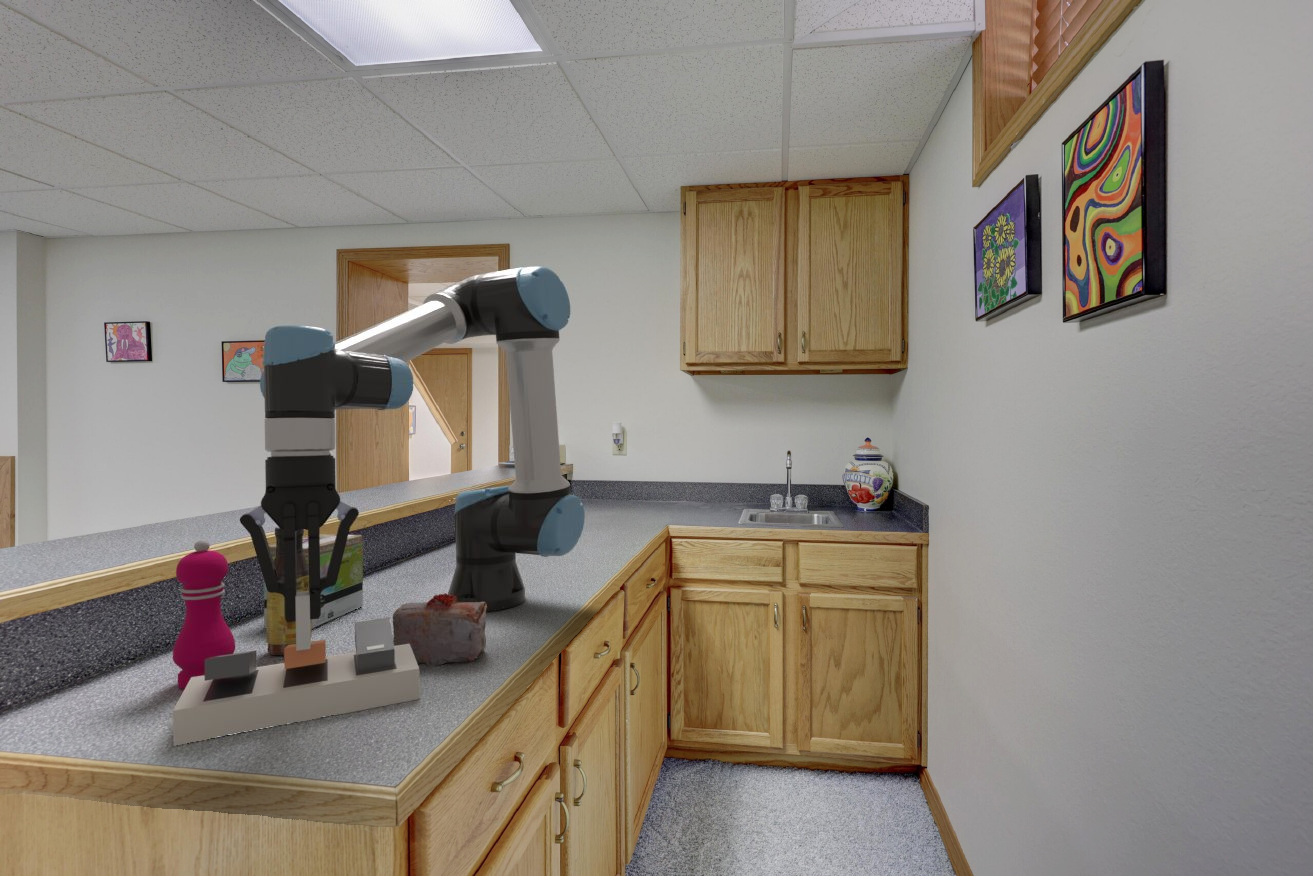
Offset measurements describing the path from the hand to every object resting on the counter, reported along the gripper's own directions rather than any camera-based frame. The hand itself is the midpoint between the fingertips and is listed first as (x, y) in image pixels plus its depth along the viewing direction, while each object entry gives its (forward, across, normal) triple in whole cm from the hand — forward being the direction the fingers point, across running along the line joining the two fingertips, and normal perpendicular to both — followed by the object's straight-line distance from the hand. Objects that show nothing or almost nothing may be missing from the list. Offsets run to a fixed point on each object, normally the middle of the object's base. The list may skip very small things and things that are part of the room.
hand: (303, 646), depth 79 cm
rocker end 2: (+3, -8, -4) cm, 10 cm away
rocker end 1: (+3, +8, -4) cm, 9 cm away
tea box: (+8, -1, -47) cm, 48 cm away
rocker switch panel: (+9, 0, -4) cm, 10 cm away
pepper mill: (+9, +13, -20) cm, 25 cm away
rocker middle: (+3, 0, -4) cm, 5 cm away
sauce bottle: (+8, +3, -29) cm, 30 cm away
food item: (+9, -18, -13) cm, 24 cm away
